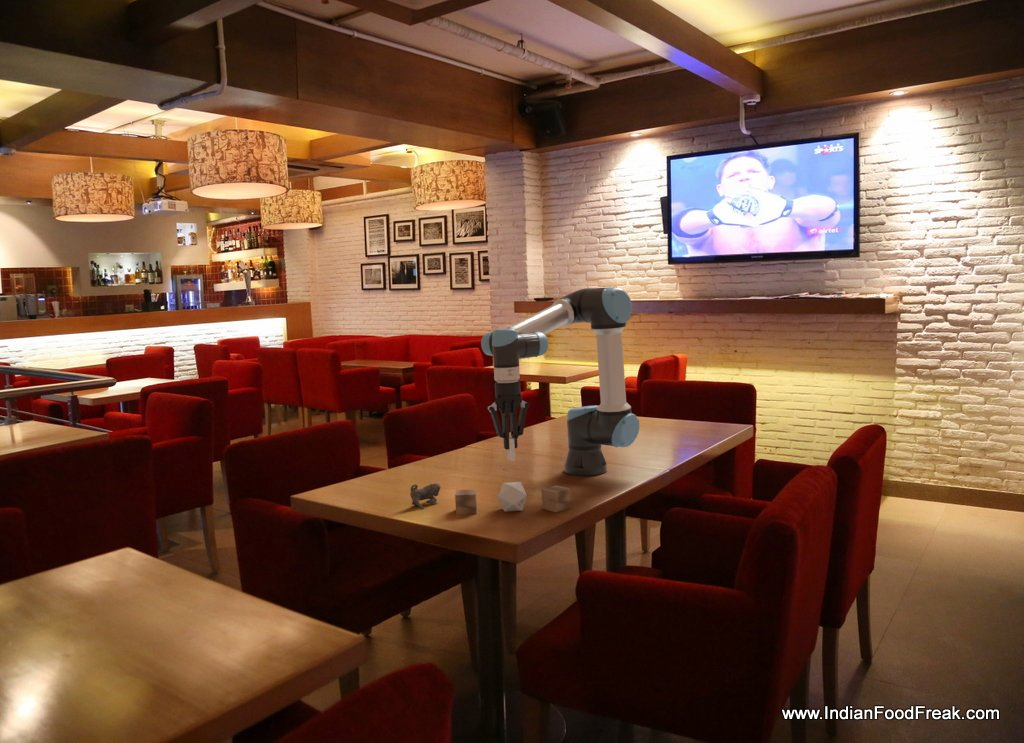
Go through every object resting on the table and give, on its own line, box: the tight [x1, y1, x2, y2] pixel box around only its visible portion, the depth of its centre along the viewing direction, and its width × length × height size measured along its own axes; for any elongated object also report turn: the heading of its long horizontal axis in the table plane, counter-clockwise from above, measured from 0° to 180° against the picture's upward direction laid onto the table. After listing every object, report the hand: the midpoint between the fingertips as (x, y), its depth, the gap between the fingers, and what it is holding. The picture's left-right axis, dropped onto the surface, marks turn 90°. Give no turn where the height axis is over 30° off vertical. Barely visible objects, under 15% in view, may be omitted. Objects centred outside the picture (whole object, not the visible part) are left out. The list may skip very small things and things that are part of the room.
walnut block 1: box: [454, 488, 478, 516], centre depth 235 cm, size 6×6×6 cm
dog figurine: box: [409, 483, 441, 510], centre depth 245 cm, size 12×6×7 cm, turn 136°
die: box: [497, 481, 528, 513], centre depth 235 cm, size 8×9×10 cm
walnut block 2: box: [541, 485, 572, 513], centre depth 234 cm, size 6×6×6 cm
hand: (511, 459), depth 234 cm, fingers closed
